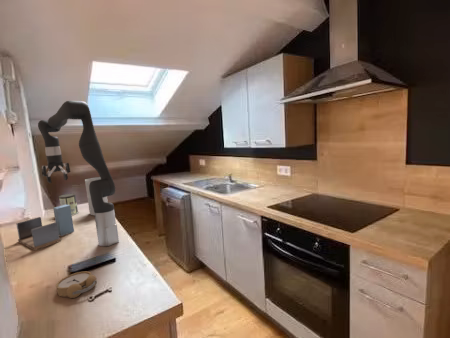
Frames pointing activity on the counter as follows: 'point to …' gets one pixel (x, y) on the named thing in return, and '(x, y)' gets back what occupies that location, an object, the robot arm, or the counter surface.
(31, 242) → the book stand
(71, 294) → the alarm clock
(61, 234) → the book
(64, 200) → the coffee can
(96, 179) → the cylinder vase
